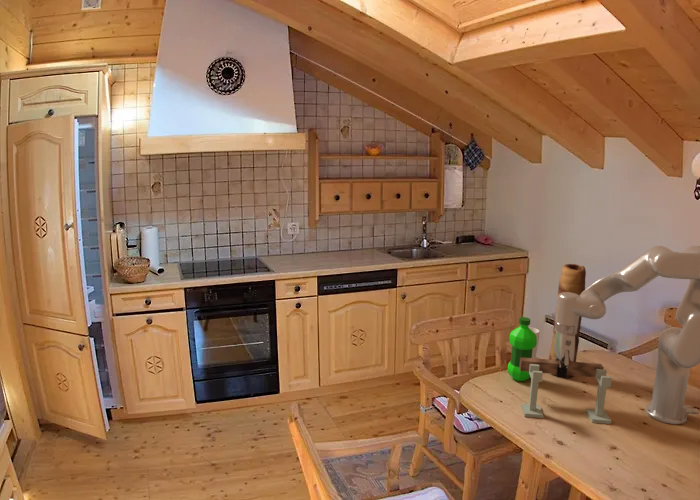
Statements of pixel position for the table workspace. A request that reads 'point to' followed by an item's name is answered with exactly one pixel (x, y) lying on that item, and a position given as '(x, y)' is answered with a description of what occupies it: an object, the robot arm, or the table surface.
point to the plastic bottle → (521, 348)
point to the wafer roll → (573, 283)
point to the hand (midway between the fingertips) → (559, 374)
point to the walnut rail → (552, 366)
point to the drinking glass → (537, 341)
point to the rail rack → (594, 414)
